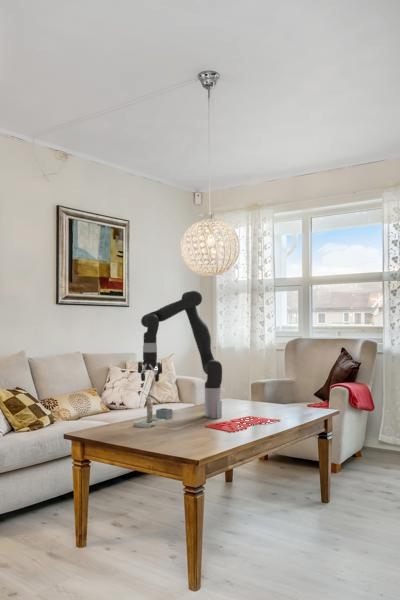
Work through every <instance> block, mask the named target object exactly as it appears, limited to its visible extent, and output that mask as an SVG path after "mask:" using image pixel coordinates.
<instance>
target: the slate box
mask: <svg viewBox="0 0 400 600" xmlns="http://www.w3.org/2000/svg"><path fill="white" fill-rule="evenodd" d="M155 418H158V419H165V421H166V420H171V419H172V418H173V409H172V408H167V407H166V408H165V407H162V408H157V409H156V410H155Z"/></svg>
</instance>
